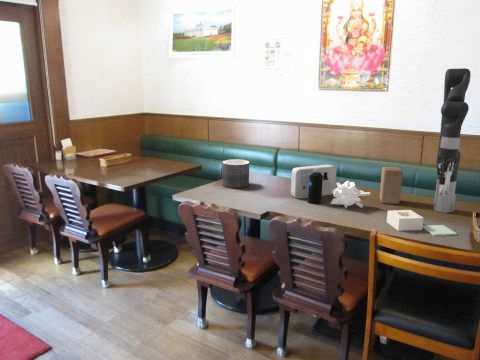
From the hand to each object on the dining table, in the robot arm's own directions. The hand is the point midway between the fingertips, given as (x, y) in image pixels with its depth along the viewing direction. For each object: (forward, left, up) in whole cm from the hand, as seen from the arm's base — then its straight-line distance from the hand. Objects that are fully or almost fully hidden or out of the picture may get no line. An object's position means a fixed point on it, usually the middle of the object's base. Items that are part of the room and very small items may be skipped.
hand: (444, 183), depth 185 cm
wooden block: (+2, -47, -23) cm, 52 cm away
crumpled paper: (+30, -41, -23) cm, 56 cm away
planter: (+88, -91, -23) cm, 129 cm away
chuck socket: (+13, -8, -23) cm, 28 cm away
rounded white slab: (+43, -63, -23) cm, 80 cm away
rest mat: (0, 0, -23) cm, 23 cm away
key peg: (0, 0, -5) cm, 5 cm away
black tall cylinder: (+46, -49, -23) cm, 71 cm away
